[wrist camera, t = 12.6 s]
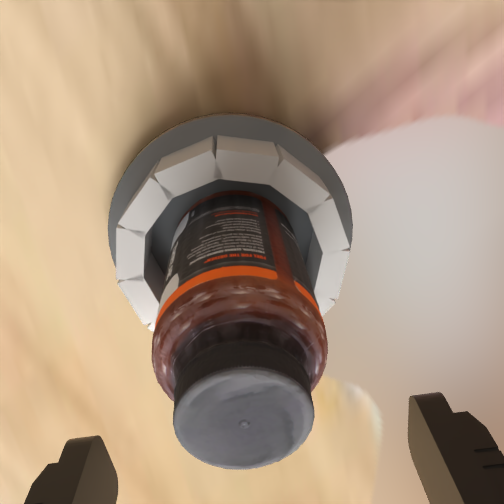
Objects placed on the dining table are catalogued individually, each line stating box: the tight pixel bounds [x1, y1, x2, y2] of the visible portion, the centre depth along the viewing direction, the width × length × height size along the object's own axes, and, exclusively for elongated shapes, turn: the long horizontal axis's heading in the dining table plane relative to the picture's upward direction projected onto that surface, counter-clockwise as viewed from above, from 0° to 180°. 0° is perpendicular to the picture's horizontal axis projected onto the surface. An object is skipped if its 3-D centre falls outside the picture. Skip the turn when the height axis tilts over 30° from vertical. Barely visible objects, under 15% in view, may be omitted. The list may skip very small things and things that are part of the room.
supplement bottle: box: [152, 190, 328, 469], centre depth 18 cm, size 6×6×11 cm
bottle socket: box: [108, 113, 353, 332], centre depth 22 cm, size 12×12×4 cm
